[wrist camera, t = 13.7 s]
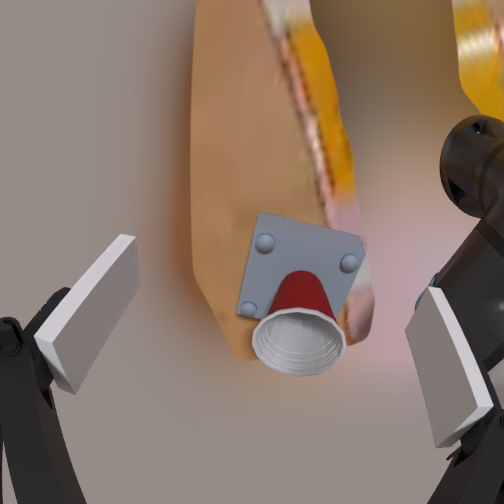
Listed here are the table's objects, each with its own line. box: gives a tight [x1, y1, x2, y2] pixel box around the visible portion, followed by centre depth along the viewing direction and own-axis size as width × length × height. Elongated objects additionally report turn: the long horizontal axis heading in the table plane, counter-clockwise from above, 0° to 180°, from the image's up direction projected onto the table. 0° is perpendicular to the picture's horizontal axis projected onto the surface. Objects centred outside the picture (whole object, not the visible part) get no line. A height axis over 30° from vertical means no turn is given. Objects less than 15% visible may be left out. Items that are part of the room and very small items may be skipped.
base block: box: [236, 212, 365, 319], centre depth 47 cm, size 15×15×6 cm
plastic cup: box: [252, 270, 347, 376], centre depth 40 cm, size 11×11×12 cm
